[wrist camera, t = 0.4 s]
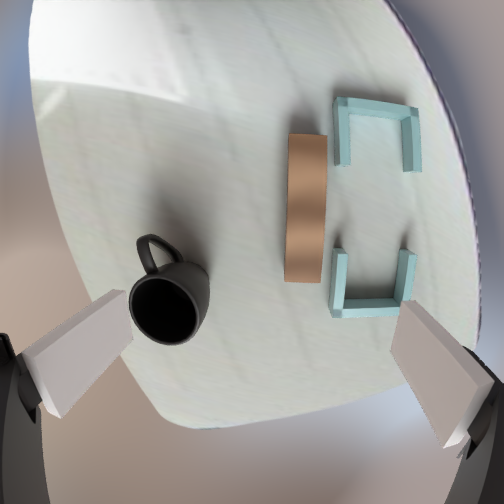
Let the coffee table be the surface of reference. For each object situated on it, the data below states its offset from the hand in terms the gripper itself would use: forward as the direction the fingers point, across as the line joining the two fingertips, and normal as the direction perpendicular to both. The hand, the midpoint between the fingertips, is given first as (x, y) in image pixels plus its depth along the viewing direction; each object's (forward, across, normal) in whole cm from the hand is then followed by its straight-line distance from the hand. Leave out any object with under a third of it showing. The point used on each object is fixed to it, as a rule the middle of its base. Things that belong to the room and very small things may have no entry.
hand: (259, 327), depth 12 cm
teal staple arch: (+22, +12, +13) cm, 29 cm away
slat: (+23, +4, +4) cm, 23 cm away
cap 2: (+23, +13, -5) cm, 26 cm away
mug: (+23, -11, -4) cm, 26 cm away
